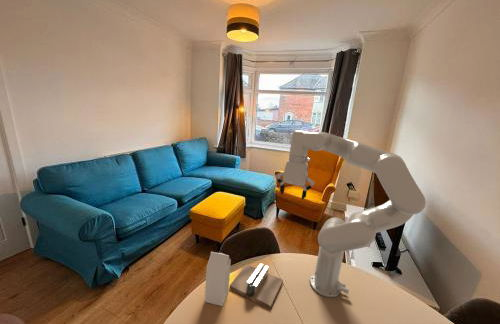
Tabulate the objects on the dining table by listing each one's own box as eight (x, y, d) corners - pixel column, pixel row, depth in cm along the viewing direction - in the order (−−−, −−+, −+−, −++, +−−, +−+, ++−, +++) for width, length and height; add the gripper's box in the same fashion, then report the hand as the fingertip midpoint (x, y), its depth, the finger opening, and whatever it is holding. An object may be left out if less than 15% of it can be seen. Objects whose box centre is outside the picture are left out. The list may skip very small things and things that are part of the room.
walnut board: (282, 282, 91) (283, 279, 91) (270, 309, 78) (270, 305, 77) (246, 266, 99) (246, 264, 98) (229, 288, 85) (229, 285, 85)
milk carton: (222, 306, 77) (226, 261, 73) (204, 302, 78) (207, 257, 74) (228, 291, 84) (231, 249, 80) (211, 287, 85) (214, 246, 81)
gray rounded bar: (252, 298, 80) (253, 290, 79) (243, 294, 81) (244, 285, 81) (267, 274, 93) (268, 266, 92) (259, 270, 95) (260, 263, 94)
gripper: (319, 161, 90) (313, 198, 94) (281, 154, 98) (277, 189, 101) (316, 163, 84) (310, 203, 87) (276, 156, 91) (271, 193, 95)
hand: (292, 195), depth 94 cm, fingers open, 9 cm apart
